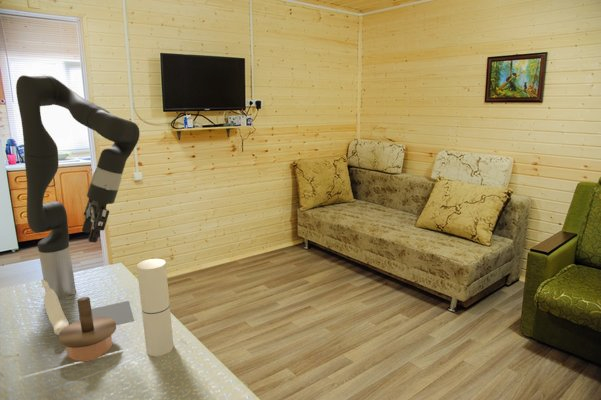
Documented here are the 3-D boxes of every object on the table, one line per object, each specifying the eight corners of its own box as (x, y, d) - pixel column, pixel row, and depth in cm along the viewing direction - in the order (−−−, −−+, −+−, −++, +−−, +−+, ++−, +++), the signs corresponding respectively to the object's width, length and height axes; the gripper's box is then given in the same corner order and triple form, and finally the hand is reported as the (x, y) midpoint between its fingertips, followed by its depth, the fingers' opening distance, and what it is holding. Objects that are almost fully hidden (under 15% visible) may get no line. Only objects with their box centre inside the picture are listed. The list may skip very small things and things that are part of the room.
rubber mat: (79, 312, 135) (79, 311, 135) (128, 302, 142) (128, 300, 142) (79, 335, 122) (79, 333, 122) (134, 322, 129) (134, 320, 129)
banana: (57, 347, 116) (49, 299, 113) (43, 321, 130) (35, 277, 127) (76, 340, 119) (69, 293, 116) (61, 315, 133) (54, 273, 130)
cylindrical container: (148, 359, 110) (138, 271, 104) (144, 345, 117) (135, 261, 111) (175, 351, 114) (167, 265, 108) (170, 338, 120) (163, 256, 114)
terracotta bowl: (68, 344, 117) (65, 328, 116) (110, 334, 122) (108, 318, 121) (67, 366, 108) (64, 349, 107) (113, 353, 113) (111, 337, 112)
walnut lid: (59, 327, 117) (54, 294, 115) (114, 315, 123) (110, 283, 121) (58, 353, 105) (52, 317, 103) (118, 338, 111) (113, 304, 109)
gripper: (85, 176, 125) (70, 227, 126) (97, 188, 114) (80, 243, 115) (111, 182, 129) (96, 231, 131) (125, 193, 119) (108, 247, 120)
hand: (88, 236), depth 123 cm, fingers open, 8 cm apart
